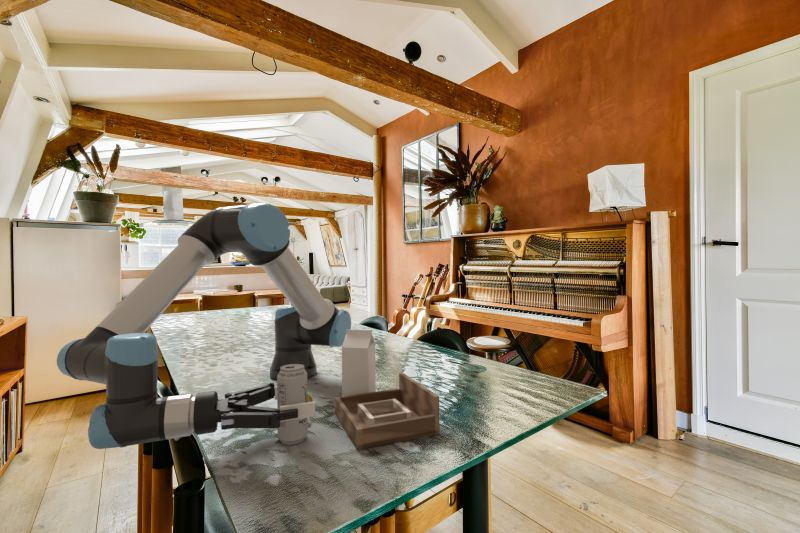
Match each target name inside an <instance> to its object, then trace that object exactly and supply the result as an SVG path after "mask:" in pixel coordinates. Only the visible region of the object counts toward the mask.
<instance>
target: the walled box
mask: <svg viewBox="0 0 800 533" xmlns="http://www.w3.org/2000/svg"><path fill="white" fill-rule="evenodd" d="M334 415H335V416H336V418H337V419H338V422H339V423H340V425H341V427H342V428H343V429H344V431H345V433H346V434H347V436H348V438H349V439H350V440H351V441H350V442H352V444H353V445H354V447H355V448H356V451H361V450H366V449H371V448H377V447H380V446H382V447H383V446H386V445H392V444H397V443H402V442H407V441H411V440H416V439H422V438H427V437H431V436H432V437H433V436H437V435H440V395H438V394H436V393H435V392H433V391H432V390H430V389H429V388H428V387H425V386H424V385H422V384H421V383H419V382H418V381H416V380H415V379H414V378H412V377H410V376H409V375H407V374H406V373H404V372H399V374H398V388H394V389H385V390H378V391H377V390H376V392H370V393H363V394H356V395H348V396H342V395H340V396H336V397H334Z"/></svg>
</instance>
